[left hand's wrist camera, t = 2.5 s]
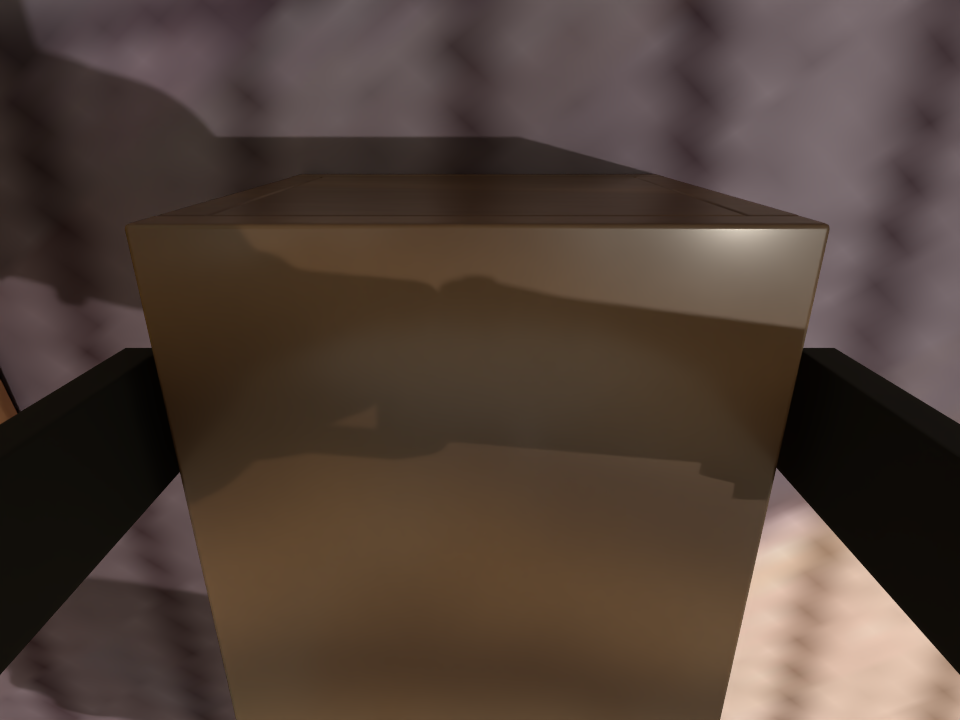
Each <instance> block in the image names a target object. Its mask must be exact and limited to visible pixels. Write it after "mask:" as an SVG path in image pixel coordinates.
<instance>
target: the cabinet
mask: <svg viewBox="0 0 960 720" xmlns="http://www.w3.org/2000/svg"><path fill="white" fill-rule="evenodd" d="M125 232H126V236H127V241H128V245H129V249H130V254H131V258H132V263H133V267H134V271H135V276H136V280H137V285H138V289H139V293H140V298H141V302H142V307H143V311H144V316H145V320H146V324H147V329H148V333H149V338H150V342H151V346H152V351H153V355H154V360H155V364H156V368H157V373H158V377H159V382H160V386H161V390H162V395H163V399H164V404H165V408H166V413H167V417H168V421H169V426H170V430H171V435H172V439H173V443H174V448H175V452H176V457H177V461H178V465H179V470H180V474H181V479H182V483H183V487H184V492H185V496H186V501H187V505H188V510H189V514H190V518H191V523H192V527H193V532H194V536H195V540H196V545H197V549H198V554H199V558H200V562H201V567H202V571H203V576H204V580H205V584H206V589H207V593H208V598H209V602H210V607H211V611H212V615H213V620H214V624H215V629H216V633H217V637H218V642H219V646H220V651H221V655H222V659H223V664H224V668H225V673H226V677H227V681H228V686H229V690H230V695H231V699H232V704H233V708H234V712H235V717H236V720H720V717H721V713H722V709H723V704H724V700H725V695H726V691H727V686H728V682H729V677H730V673H731V668H732V664H733V659H734V655H735V650H736V646H737V641H738V637H739V632H740V628H741V623H742V619H743V614H744V610H745V606H746V601H747V597H748V592H749V588H750V583H751V579H752V574H753V570H754V565H755V561H756V556H757V552H758V547H759V543H760V538H761V534H762V529H763V525H764V520H765V516H766V511H767V507H768V502H769V498H770V494H771V489H772V485H773V480H774V476H775V471H776V467H777V462H778V458H779V453H780V449H781V444H782V440H783V435H784V431H785V426H786V422H787V417H788V413H789V408H790V404H791V399H792V395H793V391H794V386H795V382H796V377H797V373H798V368H799V364H800V359H801V355H802V350H803V346H804V341H805V337H806V332H807V328H808V323H809V319H810V314H811V310H812V305H813V301H814V296H815V292H816V288H817V283H818V279H819V274H820V270H821V265H822V261H823V256H824V252H825V247H826V243H827V238H828V234H829V225H827V224H825V223H822V222H819V221H815V220H812V219H808V218H805V217H801V216H798V215H796V214H792V213H789V212H785V211H782V210H778V209H775V208H771V207H768V206H764V205H761V204H757V203H754V202H750V201H747V200H743V199H740V198H736V197H733V196H729V195H726V194H722V193H719V192H715V191H712V190H708V189H705V188H701V187H698V186H694V185H691V184H687V183H684V182H680V181H677V180H673V179H670V178H666V177H664V176H660V175H657V174H300V175H297V176H293V177H291V178H288V179H284V180H281V181H277V182H274V183H270V184H266V185H263V186H259V187H256V188H252V189H249V190H245V191H242V192H238V193H235V194H231V195H228V196H224V197H221V198H217V199H214V200H210V201H207V202H203V203H200V204H196V205H193V206H189V207H186V208H182V209H179V210H175V211H172V212H168V213H164V214H161V215H159V216H154V217H150V218H147V219H143V220H140V221H136V222H132V223H129V224H127V225H126V226H125Z"/></svg>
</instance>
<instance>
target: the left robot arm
mask: <svg viewBox="0 0 960 720" xmlns="http://www.w3.org/2000/svg"><path fill="white" fill-rule="evenodd" d="M776 468H777V469H778V470H779V471H780V472H781V473H782V474H783V476H784V477H785V478H786V479H787V480H788V481H789V482H790V483H791V485H792V486H793V487H794V488H795V489H796V490H797V491H798V492H799V494H800V495H801V496H802V497H803V498H804V499H805V500H806V502H807V503H808V504H809V505H810V506H811V507H812V508H813V509H814V511H815V512H816V513H817V514H818V515H819V516H820V517H821V518H822V520H823V521H824V522H825V523H826V524H827V525H828V526H829V527H830V529H831V530H832V531H833V532H834V533H835V534H836V535H837V537H838V538H839V539H840V540H841V541H842V542H843V543H844V544H845V546H846V547H847V548H848V549H849V550H850V551H851V552H852V553H853V555H854V556H855V557H856V558H857V559H858V560H859V561H860V562H861V564H862V565H863V566H864V567H865V568H866V569H867V570H868V572H869V573H870V574H871V575H872V576H873V577H874V578H875V579H876V581H877V582H878V583H879V584H880V585H881V586H882V587H883V588H884V590H885V591H886V592H887V593H888V594H889V595H890V596H891V597H892V599H893V600H894V601H895V602H896V603H897V604H898V605H899V607H900V608H901V609H902V610H903V611H904V612H905V613H906V614H907V616H908V617H909V618H910V619H911V620H912V621H913V622H914V623H915V625H916V626H917V627H918V628H919V629H920V630H921V631H922V632H923V634H924V635H925V636H926V637H927V638H928V639H929V640H930V642H931V643H932V644H933V645H934V646H935V647H936V648H937V649H938V651H939V652H940V653H941V654H942V655H943V656H944V657H945V658H946V660H947V661H948V662H949V663H950V664H951V665H952V666H953V668H954V669H955V670H956V671H957V672H958V673H959V674H960V424H959V423H957V422H955V421H954V420H952V419H950V418H949V417H947V416H945V415H944V414H942V413H941V412H939V411H937V410H936V409H934V408H932V407H931V406H929V405H927V404H926V403H924V402H922V401H921V400H919V399H917V398H916V397H914V396H913V395H911V394H909V393H908V392H906V391H904V390H903V389H901V388H899V387H898V386H896V385H894V384H893V383H891V382H889V381H888V380H886V379H885V378H883V377H881V376H880V375H878V374H876V373H875V372H873V371H871V370H870V369H868V368H866V367H865V366H863V365H861V364H860V363H858V362H857V361H855V360H853V359H852V358H850V357H848V356H847V355H845V354H843V353H842V352H840V351H838V350H837V349H835V348H803V350H802V355H801V359H800V364H799V368H798V373H797V377H796V382H795V386H794V391H793V395H792V399H791V404H790V408H789V413H788V417H787V422H786V426H785V431H784V435H783V440H782V444H781V449H780V453H779V458H778V462H777V467H776ZM179 472H180V470H179V465H178V461H177V457H176V452H175V448H174V443H173V439H172V435H171V430H170V426H169V421H168V417H167V413H166V408H165V404H164V399H163V395H162V390H161V386H160V382H159V377H158V373H157V368H156V364H155V360H154V355H153V351H152V348H125V349H123V350H122V351H120V352H118V353H117V354H115V355H113V356H112V357H110V358H108V359H107V360H105V361H103V362H102V363H100V364H99V365H97V366H95V367H94V368H92V369H90V370H89V371H87V372H85V373H84V374H82V375H80V376H79V377H77V378H75V379H74V380H72V381H71V382H69V383H67V384H66V385H64V386H62V387H61V388H59V389H57V390H56V391H54V392H52V393H51V394H49V395H47V396H46V397H44V398H43V399H41V400H39V401H38V402H36V403H34V404H33V405H31V406H29V407H28V408H26V409H24V410H23V411H21V412H19V413H18V414H16V415H15V416H13V417H11V418H10V419H8V420H6V421H5V422H3V423H1V424H0V674H1V673H2V672H3V671H4V670H5V669H6V667H7V666H8V665H9V664H10V663H11V662H12V661H13V660H14V658H15V657H16V656H17V655H18V654H19V653H20V652H21V651H22V649H23V648H24V647H25V646H26V645H27V644H28V643H29V642H30V640H31V639H32V638H33V637H34V636H35V635H36V634H37V632H38V631H39V630H40V629H41V628H42V627H43V626H44V625H45V623H46V622H47V621H48V620H49V619H50V618H51V617H52V616H53V614H54V613H55V612H56V611H57V610H58V609H59V608H60V607H61V605H62V604H63V603H64V602H65V601H66V600H67V599H68V597H69V596H70V595H71V594H72V593H73V592H74V591H75V590H76V588H77V587H78V586H79V585H80V584H81V583H82V582H83V581H84V579H85V578H86V577H87V576H88V575H89V574H90V573H91V572H92V570H93V569H94V568H95V567H96V566H97V565H98V564H99V562H100V561H101V560H102V559H103V558H104V557H105V556H106V555H107V553H108V552H109V551H110V550H111V549H112V548H113V547H114V546H115V544H116V543H117V542H118V541H119V540H120V539H121V538H122V537H123V535H124V534H125V533H126V532H127V531H128V530H129V529H130V527H131V526H132V525H133V524H134V523H135V522H136V521H137V520H138V518H139V517H140V516H141V515H142V514H143V513H144V512H145V511H146V509H147V508H148V507H149V506H150V505H151V504H152V503H153V502H154V500H155V499H156V498H157V497H158V496H159V495H160V494H161V492H162V491H163V490H164V489H165V488H166V487H167V486H168V485H169V483H170V482H171V481H172V480H173V479H174V478H175V477H176V476H177V474H178V473H179Z"/></svg>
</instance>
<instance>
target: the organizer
mask: <svg viewBox="0 0 960 720" xmlns="http://www.w3.org/2000/svg"><path fill="white" fill-rule="evenodd" d="M16 414H17V412H16V410H15V408H14V406H13V404H12V402H11V400H10V398H9V396H8V394H7V392H6V390H5V388H4V386H3V384H2V382H1V380H0V424H1V423H3V422H5V421H6V420H8V419H10V418H11V417H13V416H15V415H16Z"/></svg>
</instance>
